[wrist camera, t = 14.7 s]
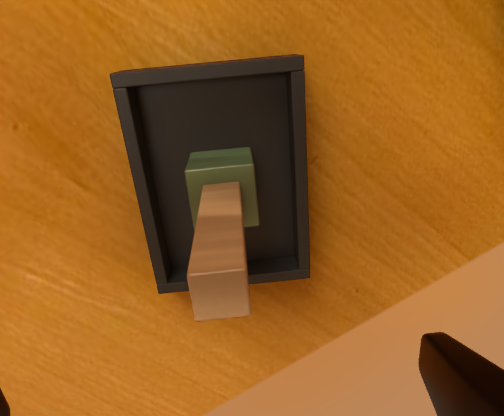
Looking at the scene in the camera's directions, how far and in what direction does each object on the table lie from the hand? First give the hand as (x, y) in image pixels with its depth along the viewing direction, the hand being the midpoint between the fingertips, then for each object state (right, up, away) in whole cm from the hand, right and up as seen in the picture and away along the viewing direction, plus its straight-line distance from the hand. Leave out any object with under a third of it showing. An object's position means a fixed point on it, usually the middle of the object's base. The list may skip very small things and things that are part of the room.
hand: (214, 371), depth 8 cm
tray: (-1, +5, +12) cm, 13 cm away
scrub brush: (-1, +5, +11) cm, 13 cm away
